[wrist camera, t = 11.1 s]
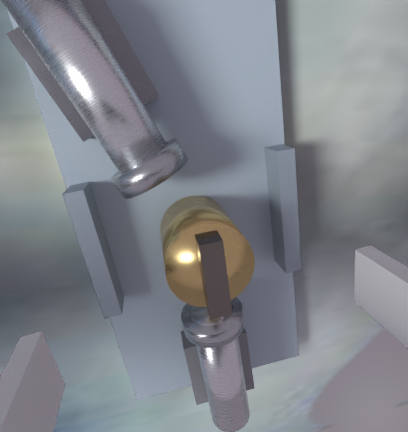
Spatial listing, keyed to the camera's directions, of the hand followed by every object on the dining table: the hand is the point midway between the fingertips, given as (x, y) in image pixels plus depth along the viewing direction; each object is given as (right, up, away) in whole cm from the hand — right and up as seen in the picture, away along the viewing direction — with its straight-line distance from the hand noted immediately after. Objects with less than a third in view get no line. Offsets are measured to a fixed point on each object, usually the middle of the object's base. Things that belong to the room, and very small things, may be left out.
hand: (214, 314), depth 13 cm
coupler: (-1, +3, +10) cm, 10 cm away
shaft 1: (-6, +11, +6) cm, 14 cm away
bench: (-2, +4, +11) cm, 12 cm away
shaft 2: (0, -6, +12) cm, 13 cm away
